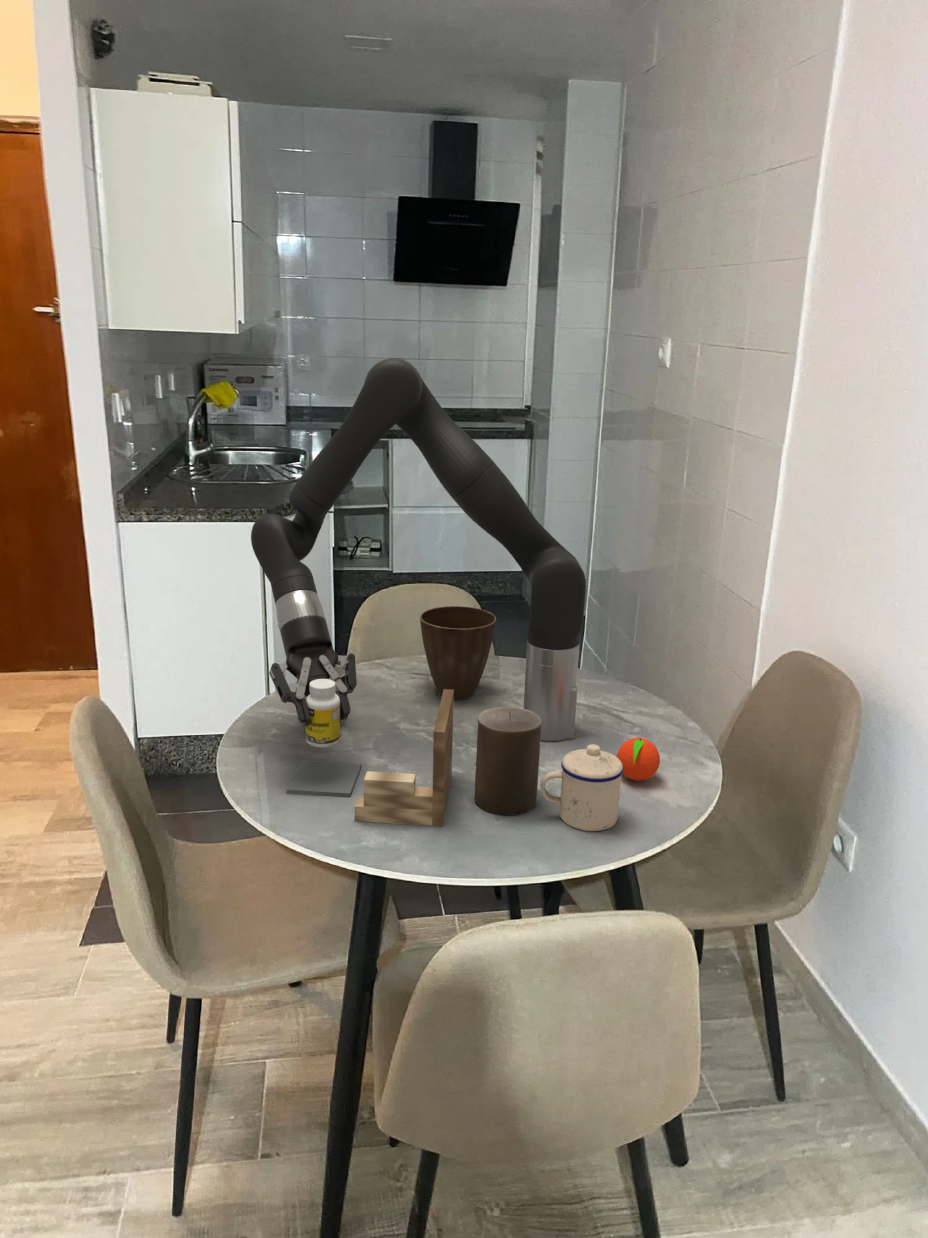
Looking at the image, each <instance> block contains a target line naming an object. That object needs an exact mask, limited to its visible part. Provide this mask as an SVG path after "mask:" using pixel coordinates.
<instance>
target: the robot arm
mask: <svg viewBox="0 0 928 1238" xmlns="http://www.w3.org/2000/svg"><path fill="white" fill-rule="evenodd" d="M395 425H396V426H397V427H398V428H399V429H401V431H402V432H403V433H404V434H405V435H407V437H408V438H409V439H410V440H411V441H412V442H413V443H414V445H415V446H416V447H417V448H418V450H419V452H420V453H421V454H422V456H423V458H424V460H425V461H426V462H427V464H428V466H429V467H430V469H431V471H432V472H433V474H434V475H435V477H436V479H437V480H438V482H439V483H440V485H441V486H442V487H443V488H444V490H445V491H446V492H447V494H448V495H449V496H450V497H451V498H452V500H453V501H454V502H455V503H456V504H457V505H458V507H459V508H460V509H461V510H462V511H463V513H464V514H466V515H467V517H469V519H471V520H472V521H473V522H474V523H475V524H476V525H477V526H479V527H480V528H481V529H482V530H483V531H485V532H486V533H487V534H489V535H490V536H491V537H493V538H494V539H495V540H496V541H497V542H498V543H500V544H501V545H502V546H503V547H504V548H505V549H506V550H507V552H508V553H509V554H510V555H511V556H512V557H511V558H513V559H514V562H516V563H517V564H518V566H519V567H520V569H521V571H522V572H523V573H524V575H525V577H526V578H527V580H528V581H529V583H530V586H531V587H530V608H529V621H528V625H527V637H526V654H525V655H526V657H525V672H524V673H525V674H524V694H523V696H524V697H523V709H526V710H529V711H532V712H534V713H535V714H537V715H538V716H539V717H540V718H541V739H540V741H544V742H557V741H564V740H568V739H571V740H572V739H573V740H574V738H575V729H576V728H575V727H576V716H577V715H576V714H577V702H578V701H577V699H578V685H577V682H578V669H579V668H578V667H579V651H580V639H581V633H582V631H583V626H584V617H585V605H586V595H587V594H586V592H587V582H586V575H585V573H584V570H583V568H582V566H581V565H580V562H579V560H577V558H576V557H575V556H574V555H573V554H572V553H571V552H570V551H569V550H568V549H566V547H564V546H563V545H562V544H561V543H560V542H559V541H558V540H557V539H556V538H555V537H553V535H552V534H551V533H550V532H548V530H546V529H545V527H544V526H542V524H541V523H540V521H538V520H537V518H536V517H535V516H534V515H533V513H532V511H531V510H530V508H529V507H528V505H527V504H526V502H525V500H524V499H523V498H522V496H521V494H520V493H519V492H518V490H517V489H516V487H515V486H514V485H513V484H512V482H511V480H510V479H508V476H507V475H505V473H504V472H503V471H502V469H500V467H499V466H498V465H497V464H496V462H495V461H494V460H493V459H492V458H491V456H489V455H488V454H487V453H486V452H485V450H483V448H482V447H481V446H480V445H479V444H478V443H477V442H476V441H475V440H474V439H473V438H472V437H471V436H470V435H469V434H468V433H467V432H465V430H463V428H461V427H460V426H459V425H458V424H457V423H456V422H455V421H454V420H453V419H452V418H451V417H450V415H449V414H448V413H447V412H446V411H445V409H443V407H442V406H441V405H440V403H439V401H438V400H437V399H436V397H435V396H434V395H433V393H432V392H431V390H430V389H429V387H428V386H427V384H426V383H425V381H424V380H423V378H422V377H421V375H420V372H419V371H418V370H417V368H416V367H415V366H414V365H413V364H412V363H410V362H409V361H407V360H404V359H402V358H397V357H392V358H391V357H389V358H385V359H383V360H380V361H378V362H377V363H376V364H374V365H373V366H371V368H370V369H369V371H368V372H367V375H366V377H365V379H364V383H363V385H362V388H361V390H360V391H359V393H358V396H357V398H356V400H355V402H354V403H353V405H352V407H351V409H350V411H349V412H348V414H347V416H346V417H345V419H344V420H343V422H342V423H341V425H340V426H339V428H338V429H337V430H336V432H335V433H334V434H333V436H331V438H330V439H329V441H328V442H326V444H325V445H324V447H323V448H322V449H321V450H320V451H319V453H318V454H317V455H316V456H315V457H314V459H313V460H312V461H311V463H310V464H309V465H308V466H307V468H306V469H305V471H304V472H303V473H302V474H301V476H300V477H299V479H298V480H297V482H296V483H295V484H294V485H293V487H292V488H291V490H290V492H289V494H288V501H289V503H290V505H291V506H292V507H293V508H294V509H295V510H296V513H295V516H294V517H293V518H292V519H289V518H286V517H284V516H281V515H278V514H274V513H265V514H263V515H262V514H261V515H260V516H259V517H258V518H257V519H256V520H255V522H254V523H253V525H252V528H251V533H250V542H251V547H252V550H253V552H254V555H255V557H256V560H257V561H258V563H259V565H260V567H261V570H262V571H263V573H264V575H265V576H266V578H267V579H268V581H269V583H270V587H271V591H272V597H273V601H274V604H275V610H276V620H277V627H278V629H279V632H280V636H281V637H280V638H281V641H282V646H283V648H284V654H285V659H286V660H285V662H282V663H279V664H278V663H277V662H274V663H272V664H271V667H270V668H269V669H270V670H269V672H268V674H269V676H270V678H271V681H272V683H273V686H275V690H276V691H277V694H278V696H279V698H280V701H281V702H282V703H285V704H286V703H291V704H293V705H294V707H295V710H296V715H297V720H298V722H299V723H300V724H303V727H306V726H308V725H309V724H310V722H311V718H310V714H309V710H308V706H307V702H306V699H304V693H305V688H306V685H309V684H310V682H311V681H313V680H316V679H330V680H333V681H334V682H335V686H336V690H335V694H337V695H338V696H339V698H340V717H341V720H342V721H345V720H347V719H348V718H349V715H350V714H351V710H352V709H351V704H350V699H349V696H348V694H352V693H353V692H354V690H355V688H356V687H357V685H358V683H357V682H358V681H357V666H356V656H355V654H354V653H348V655H339V654H338V653H337V652H336V651H335V649H334V647H333V642H332V638H331V636H330V631H329V627H328V623H327V620H326V616H325V612H324V608H323V605H322V602H321V600H320V598H319V595H318V591H317V588H316V583H315V579H314V576H313V573H312V570H311V569H310V568H309V567H308V566H307V565H306V564H305V563H303V562H302V561H303V560H304V559H306V558H307V557H308V555H309V554H310V553H311V551H312V550H313V548H314V546H315V545H316V544H315V543H316V541H317V539H318V536H319V534H320V531H321V529H322V526H323V524H324V520H325V519H326V515H327V514H328V513H329V511H330V510H331V509H332V507H333V506H334V505H335V504H336V502H337V501H338V500H339V498H340V497H341V496H342V495H343V493H344V491H346V489H347V488H348V486H349V484H350V483H351V481H352V480H353V478H354V477H355V475H356V474H357V473H358V471H359V469H360V467H361V466H362V465H363V463H364V461H365V460H366V459H367V457H368V456H369V454H370V453H371V452H372V450H373V449H374V448H375V447H376V445H377V444H378V443H379V442H380V441H381V440H382V438H383V437H384V436H385V435H386V434H387V433H388V432H389V431H390V430H391V429H392V428H393V427H394V426H395ZM336 665H340V666H341V668H342V669H344V670H345V683H346V684H345V685H344V683H343V682H342V681H341V679H340V676H339V675H338V673H337V672H336V671H335V669H334V668H335V666H336ZM286 671H287V672H289V673H290V674H291V675H292V676H293V677H294V678H295V679H296V684H295V689H294V691H292V690H291V688H290V685H289V684H288V682H287V679H286V677H285V676H286V675H287V672H286Z"/></svg>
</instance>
